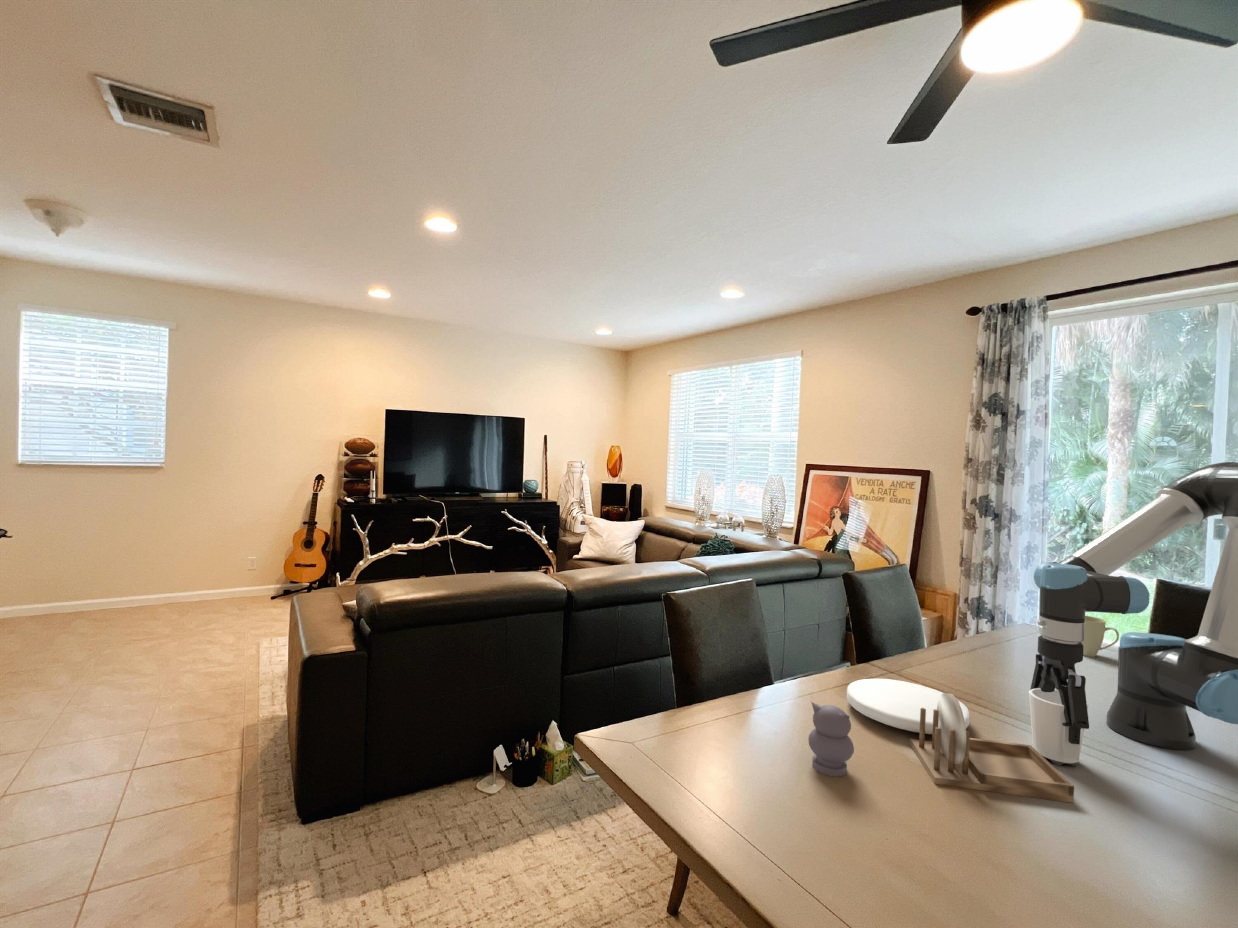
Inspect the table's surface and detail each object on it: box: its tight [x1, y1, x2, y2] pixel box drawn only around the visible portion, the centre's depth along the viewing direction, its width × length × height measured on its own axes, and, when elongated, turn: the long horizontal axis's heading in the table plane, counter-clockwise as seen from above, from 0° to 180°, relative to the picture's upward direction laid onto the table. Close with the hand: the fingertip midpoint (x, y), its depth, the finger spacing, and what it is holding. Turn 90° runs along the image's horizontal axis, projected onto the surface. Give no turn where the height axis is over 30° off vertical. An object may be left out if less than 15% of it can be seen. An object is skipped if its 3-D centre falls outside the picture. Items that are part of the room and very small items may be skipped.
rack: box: [909, 692, 1075, 803], centre depth 113 cm, size 23×15×14 cm
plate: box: [846, 678, 971, 735], centre depth 137 cm, size 28×6×27 cm
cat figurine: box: [808, 701, 855, 777], centre depth 112 cm, size 8×8×12 cm
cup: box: [1028, 688, 1089, 767], centre depth 119 cm, size 10×10×13 cm
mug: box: [1081, 615, 1120, 658], centre depth 189 cm, size 11×10×12 cm
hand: (1055, 744), depth 119 cm, fingers closed on cup, 10 cm apart
